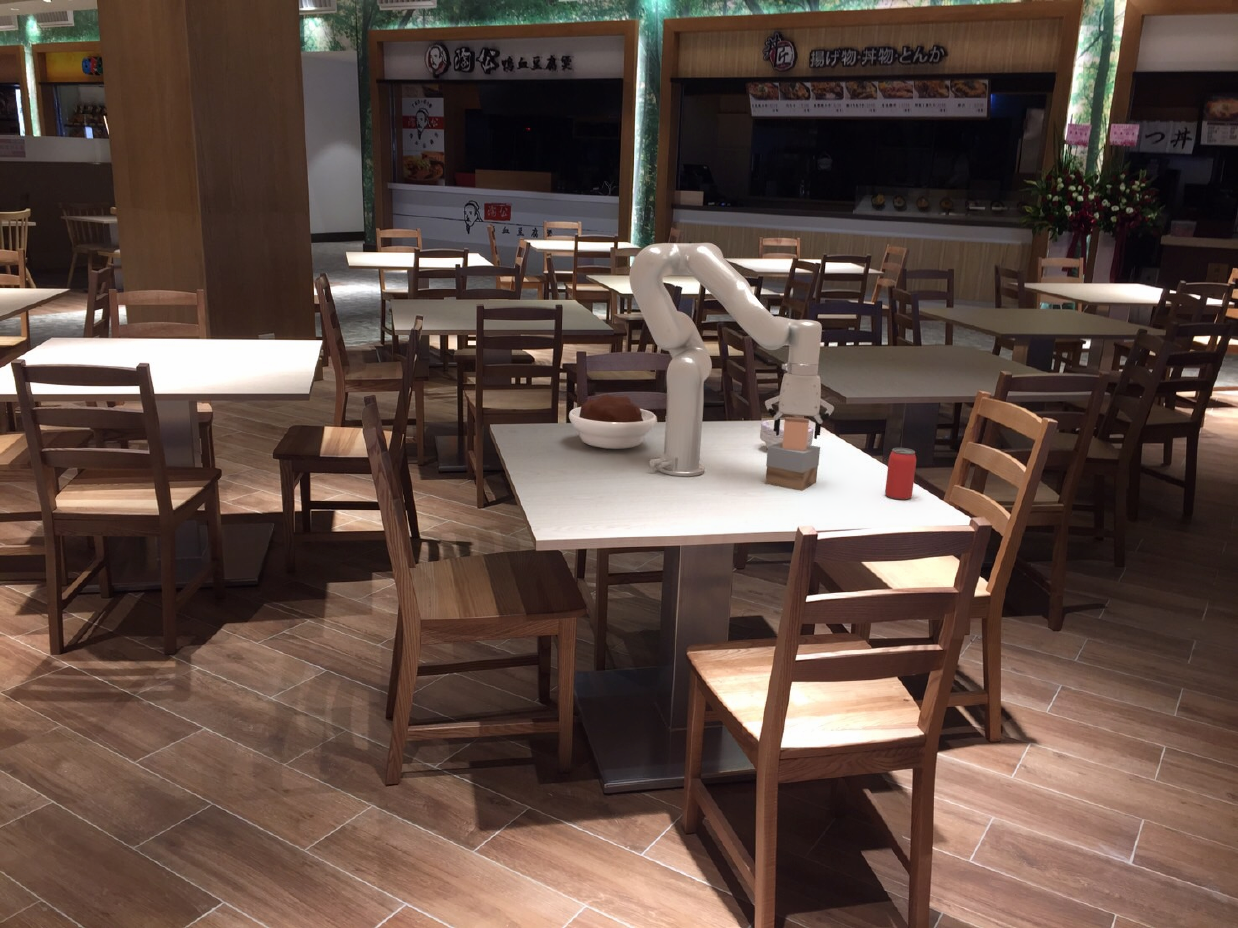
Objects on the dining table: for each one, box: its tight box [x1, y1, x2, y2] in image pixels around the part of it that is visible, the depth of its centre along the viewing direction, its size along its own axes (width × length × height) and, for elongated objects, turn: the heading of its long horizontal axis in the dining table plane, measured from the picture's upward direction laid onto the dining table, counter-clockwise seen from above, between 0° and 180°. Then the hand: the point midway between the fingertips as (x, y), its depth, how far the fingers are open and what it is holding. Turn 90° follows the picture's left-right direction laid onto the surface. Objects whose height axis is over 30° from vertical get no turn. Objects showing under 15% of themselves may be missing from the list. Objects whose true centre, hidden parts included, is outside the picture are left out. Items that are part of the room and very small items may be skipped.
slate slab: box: [765, 441, 821, 473], centre depth 263 cm, size 10×10×5 cm
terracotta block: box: [782, 416, 810, 451], centre depth 262 cm, size 6×6×7 cm
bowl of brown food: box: [568, 394, 657, 450], centre depth 294 cm, size 25×25×15 cm
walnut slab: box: [764, 465, 819, 492], centre depth 265 cm, size 10×10×5 cm
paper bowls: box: [759, 419, 815, 449], centre depth 299 cm, size 15×15×8 cm
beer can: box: [884, 447, 917, 501], centre depth 256 cm, size 7×7×12 cm
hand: (796, 436), depth 262 cm, fingers open, 9 cm apart
